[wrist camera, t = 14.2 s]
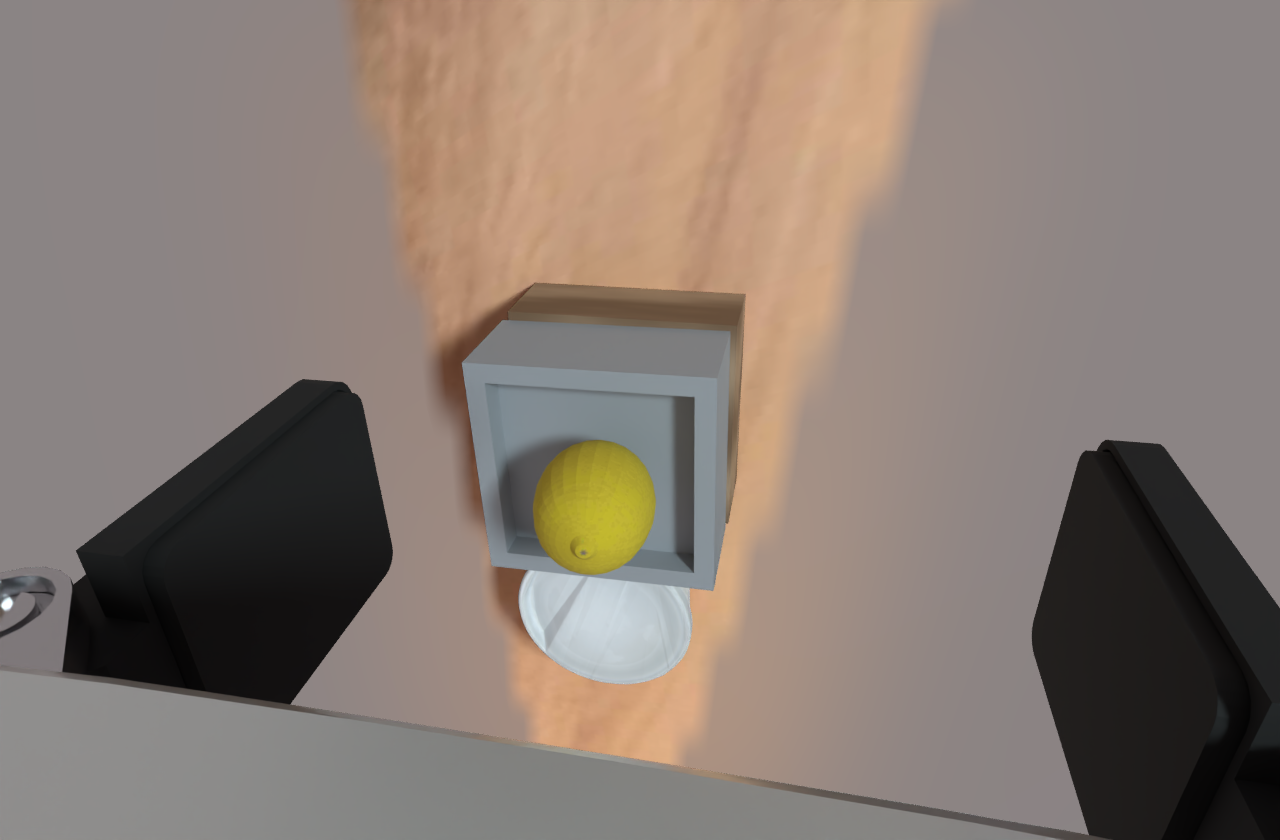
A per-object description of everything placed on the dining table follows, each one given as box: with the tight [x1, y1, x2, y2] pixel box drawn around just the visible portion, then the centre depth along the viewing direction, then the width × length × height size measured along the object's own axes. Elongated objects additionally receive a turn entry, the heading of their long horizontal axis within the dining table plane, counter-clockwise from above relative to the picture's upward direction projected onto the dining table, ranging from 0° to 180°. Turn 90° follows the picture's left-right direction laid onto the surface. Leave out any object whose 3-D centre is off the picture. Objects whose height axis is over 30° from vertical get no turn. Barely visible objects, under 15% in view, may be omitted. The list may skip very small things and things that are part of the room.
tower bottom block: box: [508, 283, 746, 523], centre depth 46 cm, size 12×12×5 cm
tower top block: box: [462, 320, 730, 591], centre depth 42 cm, size 12×12×6 cm
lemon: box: [533, 440, 656, 575], centre depth 37 cm, size 6×6×8 cm
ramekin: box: [518, 570, 692, 684], centre depth 53 cm, size 11×11×5 cm
